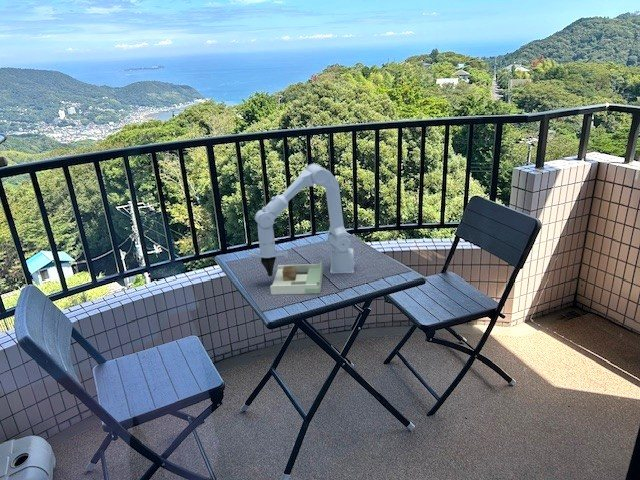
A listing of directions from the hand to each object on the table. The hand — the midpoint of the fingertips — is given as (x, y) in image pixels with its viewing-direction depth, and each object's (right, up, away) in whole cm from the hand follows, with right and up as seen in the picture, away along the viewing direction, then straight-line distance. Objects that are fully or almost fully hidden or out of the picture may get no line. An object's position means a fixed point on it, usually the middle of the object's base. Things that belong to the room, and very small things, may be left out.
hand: (270, 274), depth 168 cm
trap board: (+11, -3, +1) cm, 11 cm away
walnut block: (+7, -1, 0) cm, 7 cm away
